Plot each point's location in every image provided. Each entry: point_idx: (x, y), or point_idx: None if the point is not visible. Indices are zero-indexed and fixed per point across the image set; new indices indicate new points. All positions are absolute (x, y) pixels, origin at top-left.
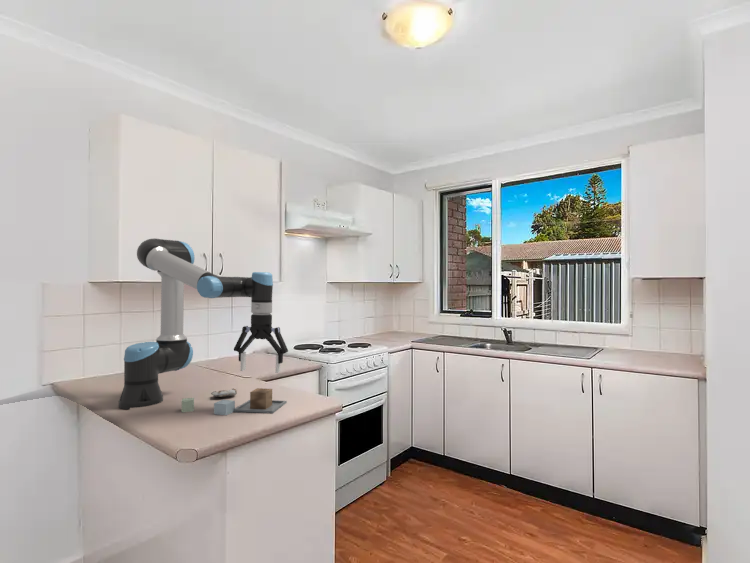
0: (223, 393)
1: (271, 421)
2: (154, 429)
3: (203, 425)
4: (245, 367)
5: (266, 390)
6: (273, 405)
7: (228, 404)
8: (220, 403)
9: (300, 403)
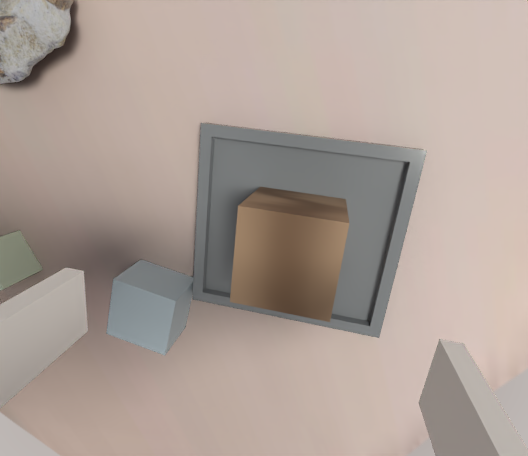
0: (23, 69)
1: (390, 412)
2: (54, 434)
3: (164, 421)
4: (69, 285)
5: (319, 267)
6: (355, 210)
7: (170, 338)
8: (135, 341)
9: (514, 130)
